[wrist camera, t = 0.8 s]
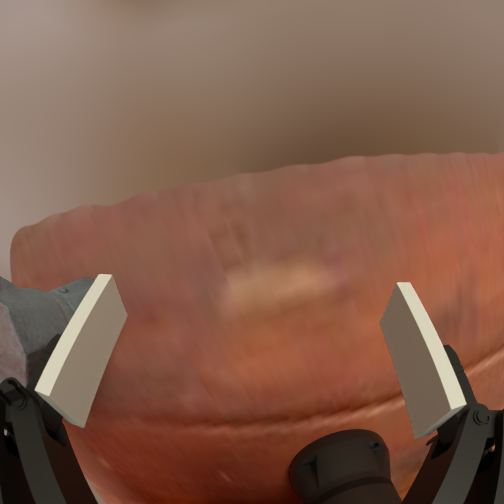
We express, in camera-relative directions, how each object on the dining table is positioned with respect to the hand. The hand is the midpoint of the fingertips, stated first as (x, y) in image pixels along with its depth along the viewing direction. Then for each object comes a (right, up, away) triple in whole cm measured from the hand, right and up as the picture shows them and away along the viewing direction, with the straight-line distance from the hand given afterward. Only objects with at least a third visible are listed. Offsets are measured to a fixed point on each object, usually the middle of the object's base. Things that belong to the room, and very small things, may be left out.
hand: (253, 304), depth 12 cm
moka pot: (-20, -6, +19) cm, 28 cm away
